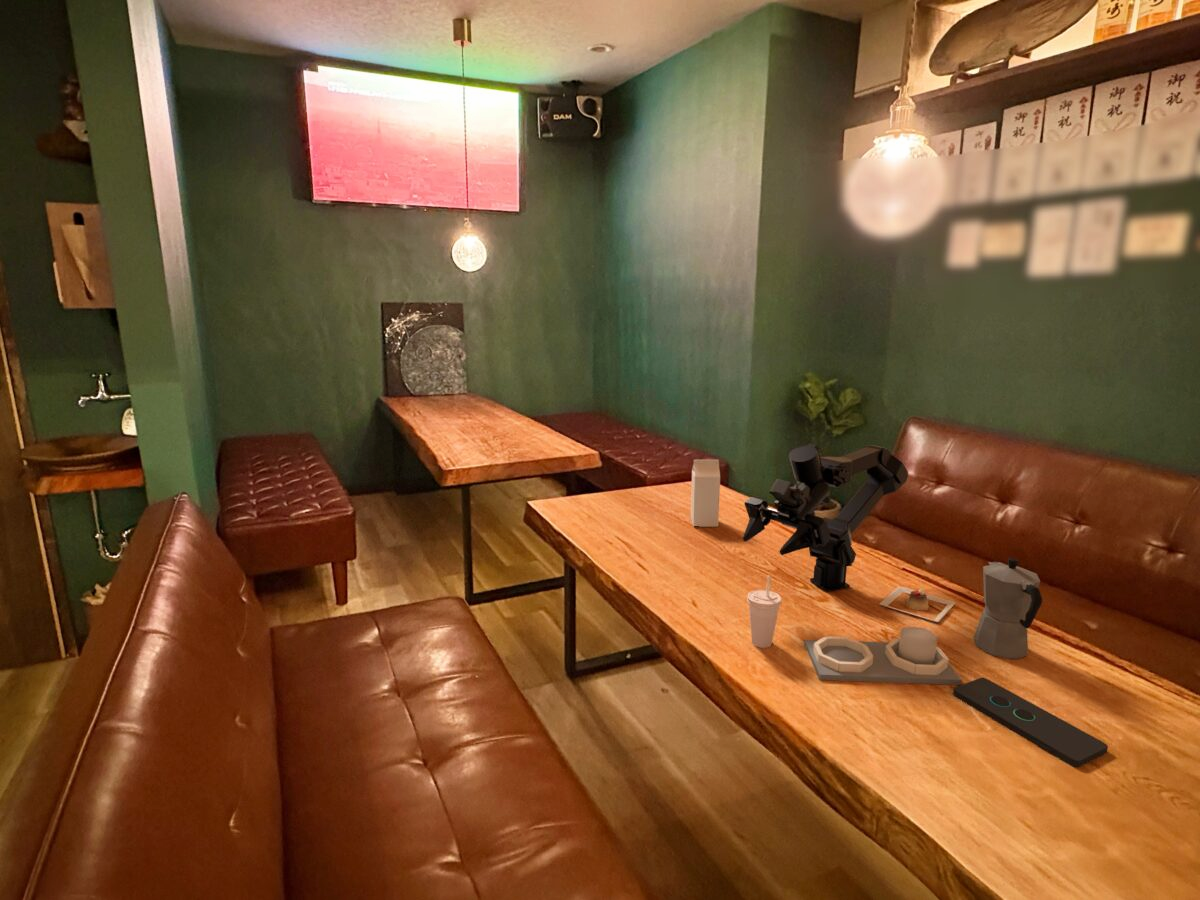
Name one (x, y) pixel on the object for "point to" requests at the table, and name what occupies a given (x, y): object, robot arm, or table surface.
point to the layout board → (883, 659)
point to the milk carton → (705, 493)
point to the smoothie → (763, 615)
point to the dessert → (918, 601)
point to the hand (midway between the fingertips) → (761, 546)
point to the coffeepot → (1007, 609)
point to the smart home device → (1031, 722)
